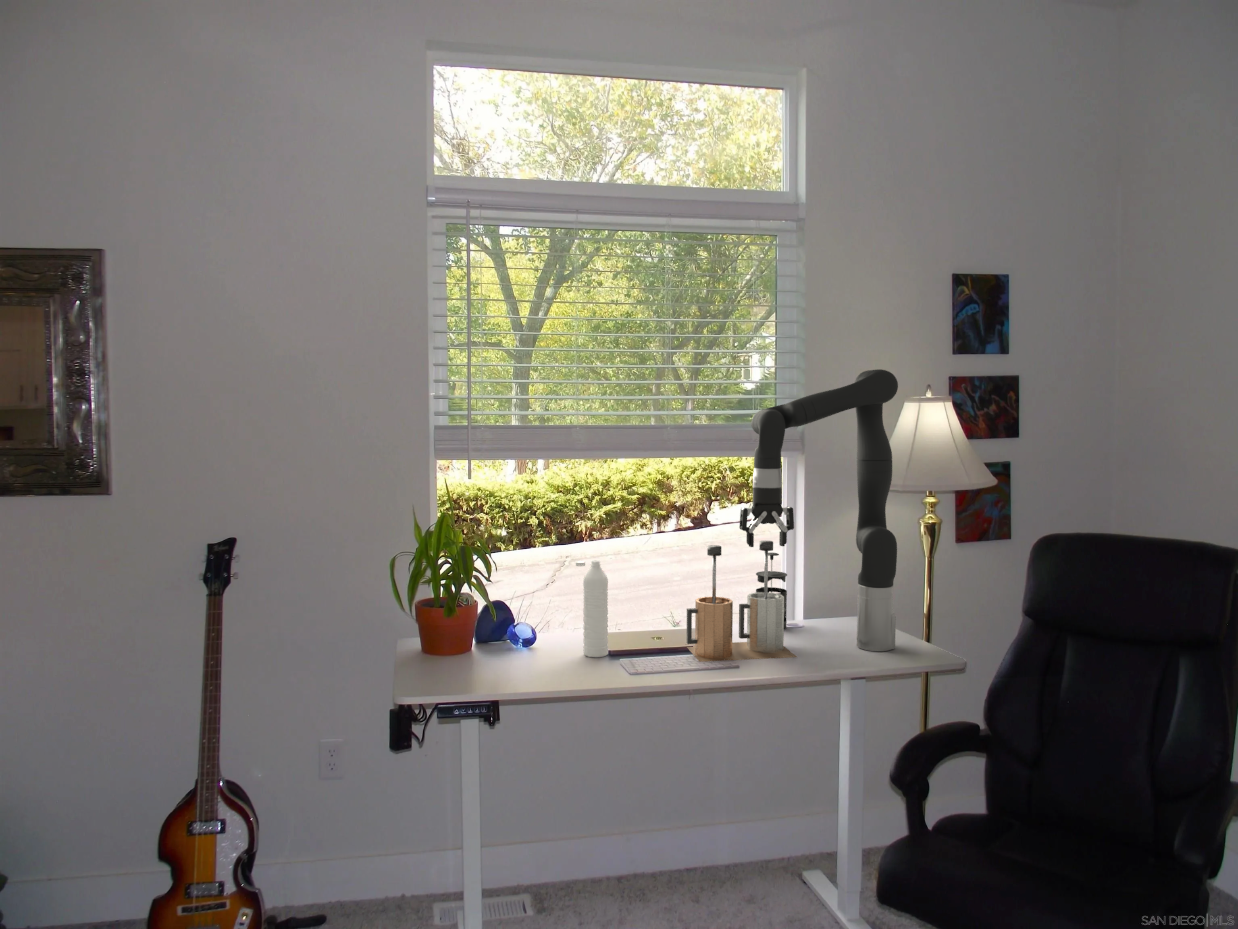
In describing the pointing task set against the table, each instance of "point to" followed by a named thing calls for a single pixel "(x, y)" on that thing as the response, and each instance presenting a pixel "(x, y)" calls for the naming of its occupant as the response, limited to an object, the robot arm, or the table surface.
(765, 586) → the steel plunger
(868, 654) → the table surface
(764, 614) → the steel carafe
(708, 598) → the copper carafe
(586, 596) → the water bottle
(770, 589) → the french press
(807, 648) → the table surface
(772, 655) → the board
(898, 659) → the table surface
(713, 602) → the black knob plunger
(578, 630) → the table surface
